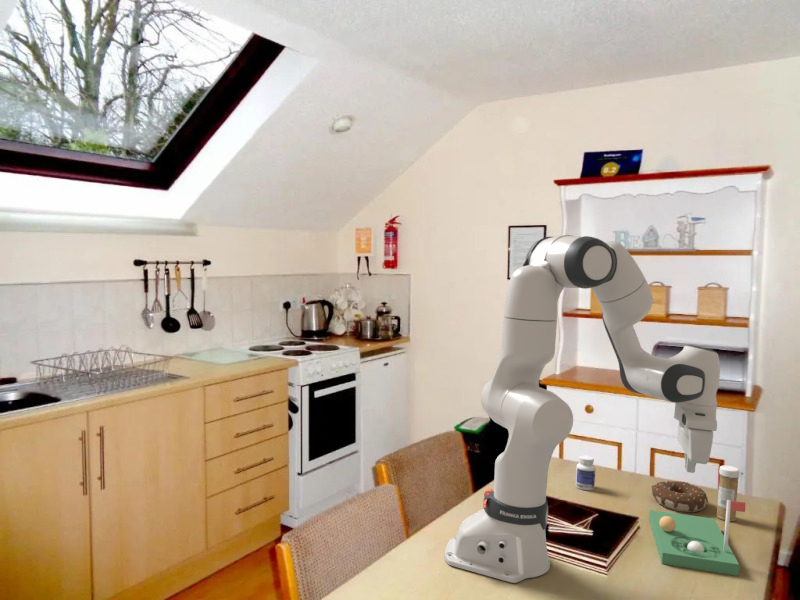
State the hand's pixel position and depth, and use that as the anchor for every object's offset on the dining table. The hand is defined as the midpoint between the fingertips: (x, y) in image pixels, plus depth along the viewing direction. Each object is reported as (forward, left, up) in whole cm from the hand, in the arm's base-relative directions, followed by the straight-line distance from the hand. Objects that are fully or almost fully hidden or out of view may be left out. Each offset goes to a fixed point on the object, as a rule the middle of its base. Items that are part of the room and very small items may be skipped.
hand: (689, 470), depth 145 cm
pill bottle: (-23, +25, -17) cm, 37 cm away
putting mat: (0, -4, -16) cm, 17 cm away
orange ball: (-5, -4, -12) cm, 14 cm away
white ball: (+1, -10, -15) cm, 18 cm away
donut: (+2, +22, -17) cm, 28 cm away
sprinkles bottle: (+12, +16, -17) cm, 26 cm away
